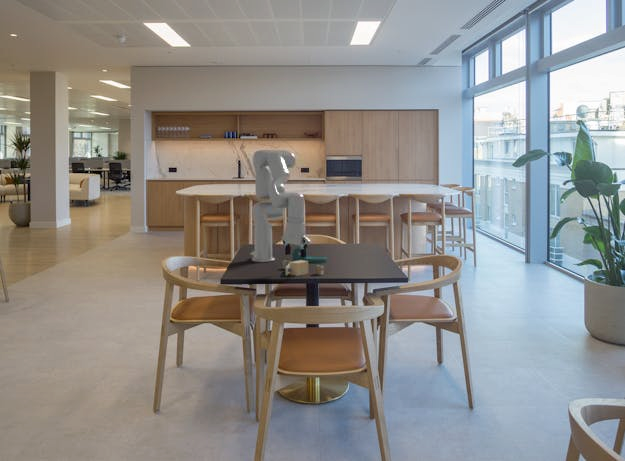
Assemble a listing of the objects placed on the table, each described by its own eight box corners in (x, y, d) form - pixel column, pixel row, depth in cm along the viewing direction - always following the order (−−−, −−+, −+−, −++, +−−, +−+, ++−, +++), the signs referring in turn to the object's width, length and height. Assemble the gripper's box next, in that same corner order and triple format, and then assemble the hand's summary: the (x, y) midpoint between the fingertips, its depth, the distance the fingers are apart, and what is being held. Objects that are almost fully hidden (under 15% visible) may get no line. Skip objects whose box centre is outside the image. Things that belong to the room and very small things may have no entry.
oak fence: (282, 268, 293) (282, 260, 292) (285, 268, 294) (285, 259, 294) (321, 275, 277) (321, 266, 276) (324, 274, 279) (324, 265, 278)
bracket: (292, 262, 311) (292, 248, 310) (294, 260, 318) (294, 246, 317) (326, 263, 309) (326, 248, 308) (327, 261, 316) (327, 247, 315)
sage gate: (289, 269, 290) (289, 262, 290) (293, 269, 290) (293, 262, 289) (285, 275, 275) (285, 267, 274) (289, 275, 275) (289, 268, 274)
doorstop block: (289, 274, 278) (289, 262, 278) (300, 272, 284) (300, 260, 284) (297, 276, 275) (297, 263, 274) (308, 273, 281) (308, 261, 280)
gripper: (276, 219, 277) (276, 254, 280) (304, 222, 267) (304, 259, 269) (287, 217, 283) (287, 252, 286) (315, 221, 272) (314, 257, 275)
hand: (295, 255), depth 277 cm, fingers open, 9 cm apart
